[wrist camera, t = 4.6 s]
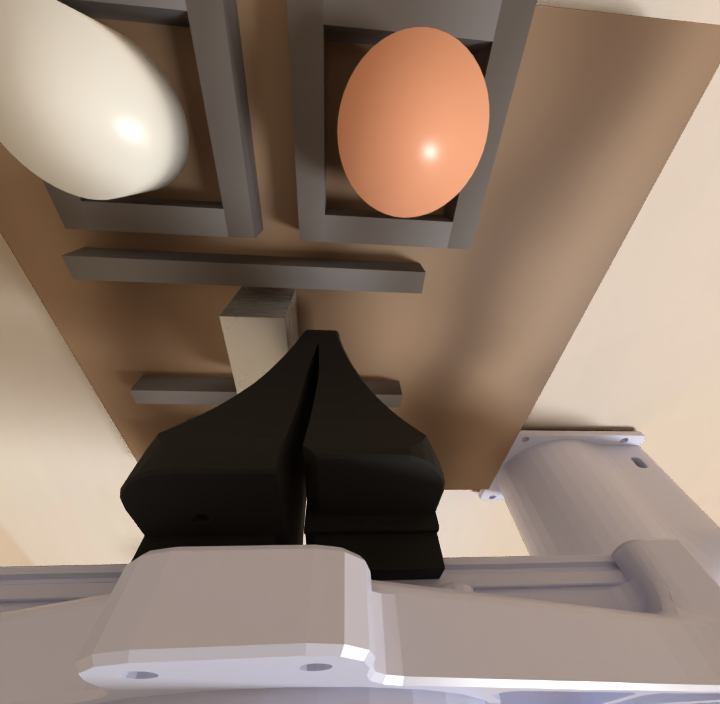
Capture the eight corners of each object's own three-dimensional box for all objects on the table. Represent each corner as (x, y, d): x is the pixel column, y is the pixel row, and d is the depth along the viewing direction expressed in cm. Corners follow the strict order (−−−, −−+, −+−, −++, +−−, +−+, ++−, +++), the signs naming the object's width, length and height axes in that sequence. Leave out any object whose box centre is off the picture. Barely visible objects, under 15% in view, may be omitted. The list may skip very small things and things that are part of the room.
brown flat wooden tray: (671, 48, 10) (812, 4, 7) (477, 463, 22) (497, 511, 19) (-74, -29, 8) (-307, -127, 5) (169, 463, 20) (141, 514, 18)
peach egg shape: (476, 60, 7) (511, 35, 5) (446, 208, 9) (466, 221, 7) (340, 46, 7) (338, 18, 5) (337, 202, 9) (336, 213, 7)
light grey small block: (295, 288, 11) (284, 318, 9) (301, 378, 14) (294, 416, 12) (241, 286, 11) (219, 316, 9) (257, 377, 14) (242, 416, 12)
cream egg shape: (166, 30, 6) (113, -5, 5) (202, 194, 8) (170, 204, 7) (10, 15, 6) (-94, -26, 5) (81, 187, 8) (22, 195, 7)
